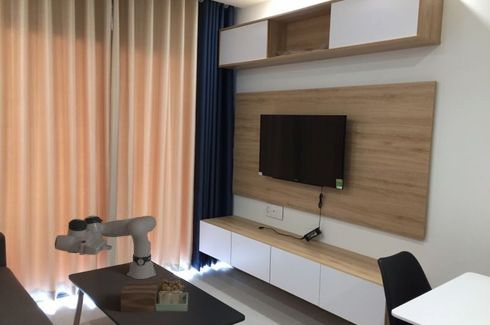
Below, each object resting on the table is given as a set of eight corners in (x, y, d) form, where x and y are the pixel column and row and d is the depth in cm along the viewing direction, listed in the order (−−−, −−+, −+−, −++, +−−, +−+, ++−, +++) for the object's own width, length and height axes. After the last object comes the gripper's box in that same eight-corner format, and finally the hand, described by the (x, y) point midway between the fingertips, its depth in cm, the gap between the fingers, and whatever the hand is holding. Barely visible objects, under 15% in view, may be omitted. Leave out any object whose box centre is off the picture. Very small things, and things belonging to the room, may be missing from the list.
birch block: (160, 291, 238) (182, 291, 240) (160, 301, 239) (181, 301, 240) (159, 294, 233) (181, 294, 235) (159, 305, 234) (181, 305, 235)
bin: (158, 299, 243) (158, 292, 242) (187, 299, 245) (188, 292, 244) (155, 311, 227) (155, 304, 227) (187, 311, 229) (187, 304, 229)
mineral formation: (160, 289, 258) (184, 287, 260) (158, 301, 245) (184, 299, 247) (159, 277, 255) (184, 275, 257) (158, 289, 243) (184, 287, 245)
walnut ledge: (125, 299, 241) (125, 282, 240) (157, 299, 243) (157, 282, 242) (120, 311, 225) (120, 293, 224) (154, 311, 227) (155, 293, 226)
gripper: (90, 246, 239) (115, 248, 240) (78, 255, 219) (105, 258, 220) (91, 235, 239) (116, 237, 240) (80, 243, 219) (107, 246, 220)
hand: (111, 247), depth 230 cm, fingers closed
